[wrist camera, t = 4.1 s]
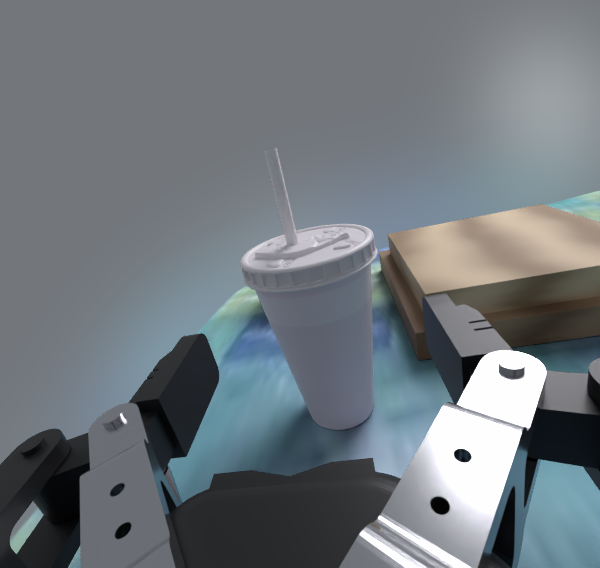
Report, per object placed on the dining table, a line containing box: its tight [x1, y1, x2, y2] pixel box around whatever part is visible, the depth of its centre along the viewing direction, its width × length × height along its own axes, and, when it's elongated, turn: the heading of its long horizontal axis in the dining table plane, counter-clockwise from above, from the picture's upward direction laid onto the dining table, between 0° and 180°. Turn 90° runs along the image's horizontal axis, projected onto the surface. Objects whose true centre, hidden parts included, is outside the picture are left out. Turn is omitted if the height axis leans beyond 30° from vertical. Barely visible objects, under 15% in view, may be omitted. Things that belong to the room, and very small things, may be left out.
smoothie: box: [240, 148, 378, 430], centre depth 17 cm, size 6×6×14 cm
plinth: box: [379, 204, 600, 360], centre depth 27 cm, size 16×16×4 cm
